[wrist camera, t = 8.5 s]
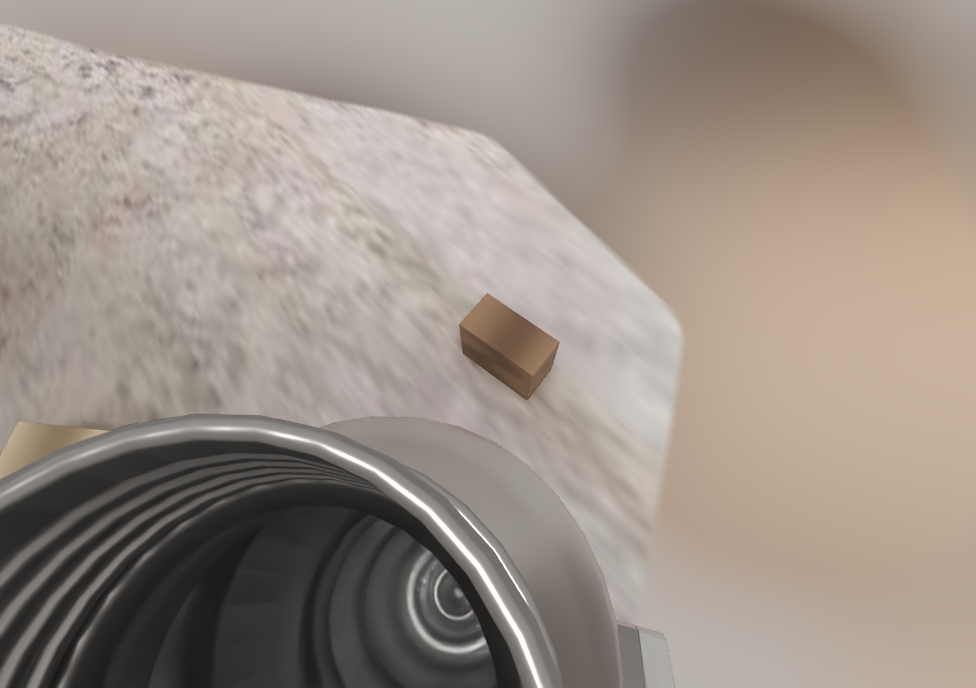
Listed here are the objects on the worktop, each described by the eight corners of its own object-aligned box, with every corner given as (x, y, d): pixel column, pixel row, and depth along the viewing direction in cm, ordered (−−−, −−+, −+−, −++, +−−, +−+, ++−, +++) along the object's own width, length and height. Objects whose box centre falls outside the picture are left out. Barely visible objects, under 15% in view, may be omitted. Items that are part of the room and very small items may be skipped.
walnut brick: (463, 353, 36) (459, 324, 32) (487, 325, 37) (487, 293, 33) (527, 400, 35) (532, 376, 30) (550, 370, 36) (559, 342, 31)
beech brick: (26, 526, 31) (-35, 521, 28) (68, 436, 34) (18, 421, 30) (114, 536, 31) (64, 533, 27) (150, 445, 34) (109, 430, 30)
